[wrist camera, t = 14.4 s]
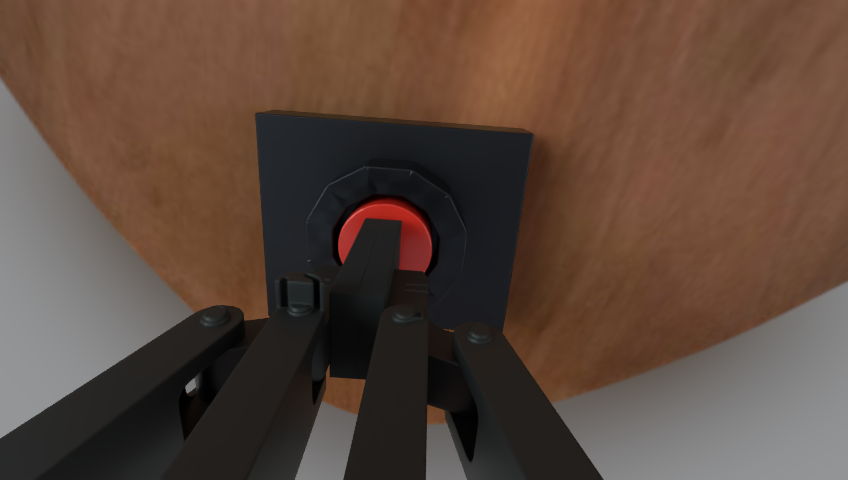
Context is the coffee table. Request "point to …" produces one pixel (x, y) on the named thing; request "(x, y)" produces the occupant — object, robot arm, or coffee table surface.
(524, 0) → the coffee table surface
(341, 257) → the button
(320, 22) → the coffee table surface
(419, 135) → the button block
